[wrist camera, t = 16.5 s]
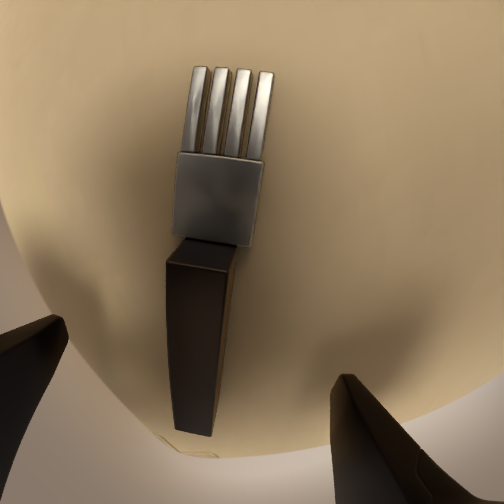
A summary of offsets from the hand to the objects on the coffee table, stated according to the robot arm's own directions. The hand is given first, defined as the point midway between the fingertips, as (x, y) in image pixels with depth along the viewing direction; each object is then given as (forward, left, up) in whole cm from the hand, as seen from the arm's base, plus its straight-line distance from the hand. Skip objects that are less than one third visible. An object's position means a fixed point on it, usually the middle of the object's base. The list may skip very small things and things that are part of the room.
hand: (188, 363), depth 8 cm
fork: (+1, -1, -2) cm, 3 cm away
